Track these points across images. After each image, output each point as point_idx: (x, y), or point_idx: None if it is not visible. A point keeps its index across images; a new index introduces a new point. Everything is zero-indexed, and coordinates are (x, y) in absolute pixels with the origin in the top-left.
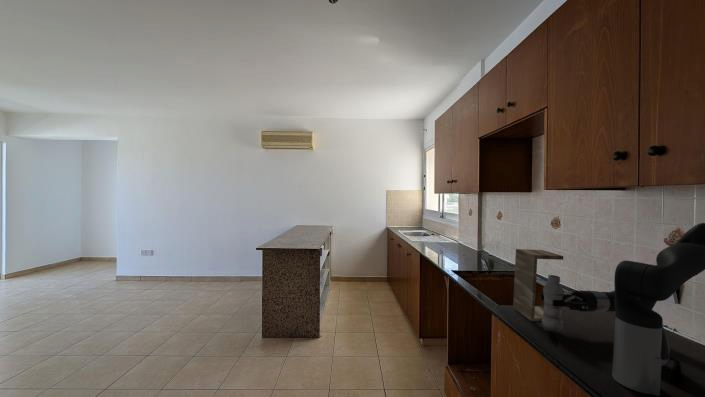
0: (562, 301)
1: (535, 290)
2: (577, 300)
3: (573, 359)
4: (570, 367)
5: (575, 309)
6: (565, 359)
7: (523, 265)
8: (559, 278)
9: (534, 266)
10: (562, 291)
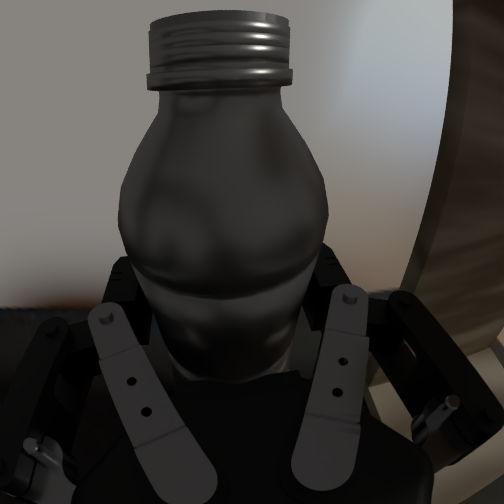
0: (118, 297)
1: (428, 251)
2: (113, 477)
3: (21, 352)
4: (4, 317)
5: (55, 393)
6: (28, 331)
7: None
8: (151, 33)
9: (455, 32)
10: (122, 215)
